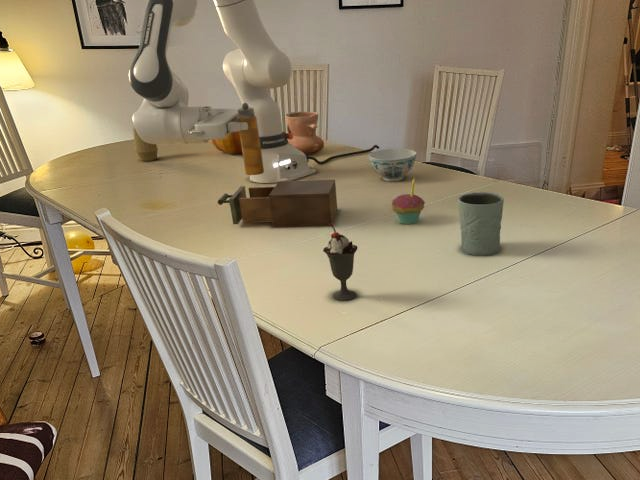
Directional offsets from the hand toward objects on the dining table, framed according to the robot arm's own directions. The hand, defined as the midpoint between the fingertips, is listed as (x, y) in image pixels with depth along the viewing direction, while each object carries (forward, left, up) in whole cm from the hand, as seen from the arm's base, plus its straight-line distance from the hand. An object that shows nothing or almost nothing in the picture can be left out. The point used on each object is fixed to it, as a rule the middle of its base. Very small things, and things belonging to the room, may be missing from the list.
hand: (251, 123), depth 165 cm
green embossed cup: (-21, +59, -25) cm, 67 cm away
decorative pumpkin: (-41, -81, -25) cm, 95 cm away
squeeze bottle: (-11, -98, -25) cm, 102 cm away
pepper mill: (+1, -1, -13) cm, 13 cm away
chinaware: (-51, -3, -25) cm, 57 cm away
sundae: (+17, +56, -25) cm, 64 cm away
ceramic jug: (-55, -57, -25) cm, 83 cm away
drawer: (+2, -1, -24) cm, 24 cm away
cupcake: (-24, +32, -25) cm, 47 cm away
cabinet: (-8, +8, -25) cm, 28 cm away
